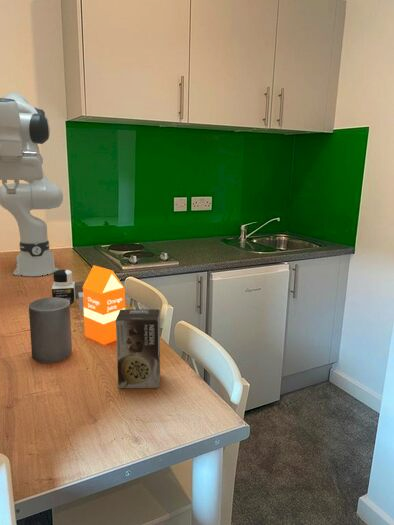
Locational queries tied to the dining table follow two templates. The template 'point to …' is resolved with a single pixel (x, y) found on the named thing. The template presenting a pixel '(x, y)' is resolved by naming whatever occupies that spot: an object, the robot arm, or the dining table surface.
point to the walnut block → (78, 288)
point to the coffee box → (138, 348)
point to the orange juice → (102, 304)
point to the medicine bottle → (64, 286)
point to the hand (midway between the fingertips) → (11, 194)
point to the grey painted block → (81, 301)
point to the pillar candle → (50, 329)
